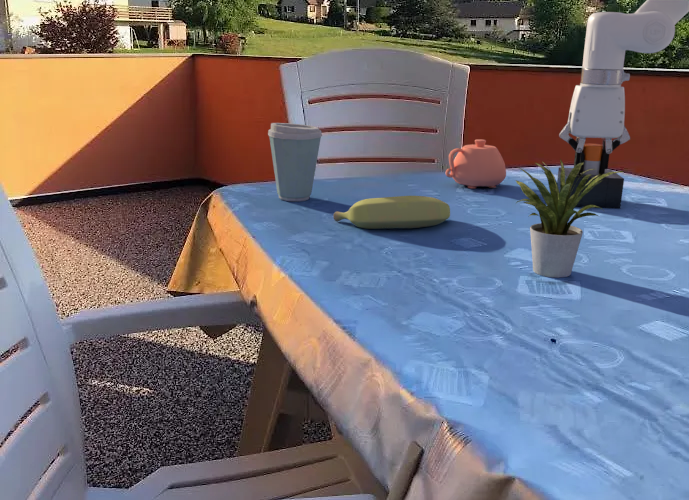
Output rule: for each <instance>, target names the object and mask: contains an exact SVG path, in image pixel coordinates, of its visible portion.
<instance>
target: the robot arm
mask: <svg viewBox="0 0 689 500" xmlns="http://www.w3.org/2000/svg"><path fill="white" fill-rule="evenodd" d="M688 13H689V0H645V2H643V3H642V4H641V5H640V6H639V8H638V9H636V11H634V12H633V13H624V12H616V11H597V12H593V13H591V14H590V15H589V16H588V18H587V23H586V29H585V30H586V31H585V40H584V49H583V57H582V58H583V59H582V66H581V75H580V83H579V84H576V85H575V87H574V90H573V93H572V97H571V101H570V107H569V113H568V116H567V117H568V118H567V123H566V124H565V126H563V128H562V130H561V131H560V132H559V134H558V137H559V138H560V139H561V140H563V141H565V142H566V143H567V144H568V145H569V146H570V147H571V148H572V150H574V161H573V168H574V167H575V166H576V165H577V164H579V163H582V162H584V157H585V154H584V153H583V147H584V144H586V140H587V138H590V139H601V141H602V143H601V145H603V148H602V156H601V164H600V173H601V174H604V173H605V169H609V161H610V154H612V153H613V152H614V150H616V149H617V148H618V147H619V146H620V145H623V144H625V143H627V142H628V141H630V140H631V136H630V134H629V131H628V129H627V128H626V126H625V116H626V115H625V114H626V95H625V94H626V93H625V87H624V86H622V84H623V83H624V82H626V81H627V82H628V81H630V78H631V74H630V73H626V72H625V70H624V65H625V57H626V52H627V51H631V52H634V53H642V54H655V53H658V52H661V51H662V50H664V49H666V48H667V47H668V46H669V45H670V44H671V43H672V42H673V39H674V37H675V33H676V32H675V31H676V27H675V25H676V24H678V23H679V22H680V21H681V19H683V17H684V16H686V15H687V14H688ZM569 134H570V135H569ZM571 135H572V136H574V137H576V138H575V139H574V138H573V137H571ZM583 166H584V164H583V165H581V168H580V171H579V172H578V173H582V172H583Z"/></svg>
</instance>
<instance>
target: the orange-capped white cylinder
mask: <svg viewBox="0 0 689 500" xmlns="http://www.w3.org/2000/svg"><path fill="white" fill-rule="evenodd" d="M602 149H603V145H602V144H599V143H584V147H583V153H584V154H585V157H584V166H583V172H585V171H586V170H589V169H595V170H589V171H586V172H585V173H583V172H582V173H583V174H582V173H580V174H582V175H589V174H592V175H599V172H600V164H601V156H602Z"/></svg>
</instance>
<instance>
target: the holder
mask: <svg viewBox="0 0 689 500" xmlns="http://www.w3.org/2000/svg"><path fill="white" fill-rule="evenodd" d="M573 168H574V167H564V170H565V183H566V180H567V178H568V176H569V174H570V172H571V171H572V169H573ZM609 172H615V171H614V170H612V169H609V168H607V169H605V173H604V174H606V173H609ZM560 175H561V166H559V167H558V169H557V178H556V182H557V185H558V189H559V193H560ZM601 175H603V174H601V173H600V172H599V176H601ZM585 176H586V175H582V174H580V173H578V174H577V176H576V178H575V180H574V182H573V185H572V188H571V191H572V192H571V191H570V193H571V194H570V197H571V196H572V195H573V194H575V191H576V189H577V187H578V185H579V183H580V182H581V180H582V179H583V178H584V177H585ZM595 176H597V177H599V176H598V175H591V176H589V178H588V179H587V181H586V182H585V184H584V186H585V185H586V184H587V183H588V182H589V181H590V180H591V179H592V178H593V177H595ZM597 177H595V178H594V179H593V180H595V179H596V178H597ZM578 178H579V179H578ZM593 180H592V181H593ZM576 181H577V182H576ZM592 181H591V182H592ZM600 181H601V182H600ZM591 182H590V183H591ZM598 182H600V183H598ZM598 182H596V183H598V184H597V185H595V186H594V187H593V188H592V189H591V190H590V191H589V192H588V193H587V194H585V195H584V196H583V197H582V198H581V200H580V201H579V202H578V204H577V205H576V206H575V208H583V207H585V206H588V205H596V206H598V207H600V208H598V207H595V208H596V209H597V208H598V209H601V208H602V209H618V210H620V209H621V206H622V199H623V191H624V184H625V178H624V177H623V176H621V175H620V174H619V173H613V174H610V175H608V176H606V177H604V178H602V179H601V180H599V181H598ZM575 183H576V184H575ZM590 183H589V184H590ZM596 183H595V184H596ZM589 184H588V185H589ZM574 185H575V186H574ZM588 185H587V186H588ZM584 186H583V187H584ZM587 186H586V187H587ZM573 187H574V188H573ZM583 187H582V188H583ZM586 187H585V188H584V189H583V190H582V191H581V192H580V194H579V195H578V197H579V196H580V195H581V194H582V192H583V191H584V190H585V189H586ZM572 189H573V190H572ZM570 197H569V198H570Z"/></svg>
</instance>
